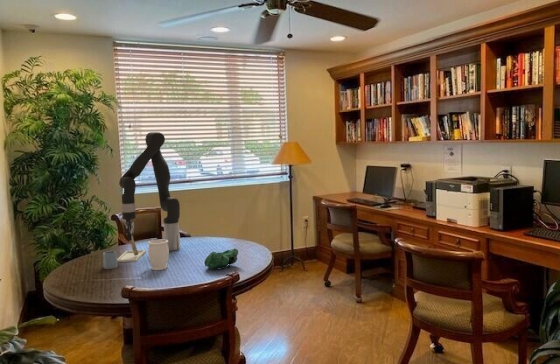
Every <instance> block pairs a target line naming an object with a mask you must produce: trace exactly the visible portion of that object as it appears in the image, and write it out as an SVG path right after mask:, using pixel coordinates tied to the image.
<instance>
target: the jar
mask: <svg viewBox="0 0 560 364" xmlns="http://www.w3.org/2000/svg"><path fill="white" fill-rule="evenodd" d="M167 243H168V240H165V238H163V239H152V240H149V241H147V244H148V248H147V249H148V251H147V252H148V258H149V263H150V265H151V267H150V268H151V270H152V271H162V270H166V269H167V268H168V265H167V264H168V262H169V255H170V253H169V252H170V251H169V249H168V245H167Z"/></svg>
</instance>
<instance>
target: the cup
mask: <svg viewBox="0 0 560 364" xmlns="http://www.w3.org/2000/svg"><path fill="white" fill-rule="evenodd" d="M117 259H118V252H117V251H116V250H108V251H103V253H102V263H103V264H102V265H103V269H105V270H109V269H110V270H111V269H115V268H116V269H117V267H118V262H117Z"/></svg>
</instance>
